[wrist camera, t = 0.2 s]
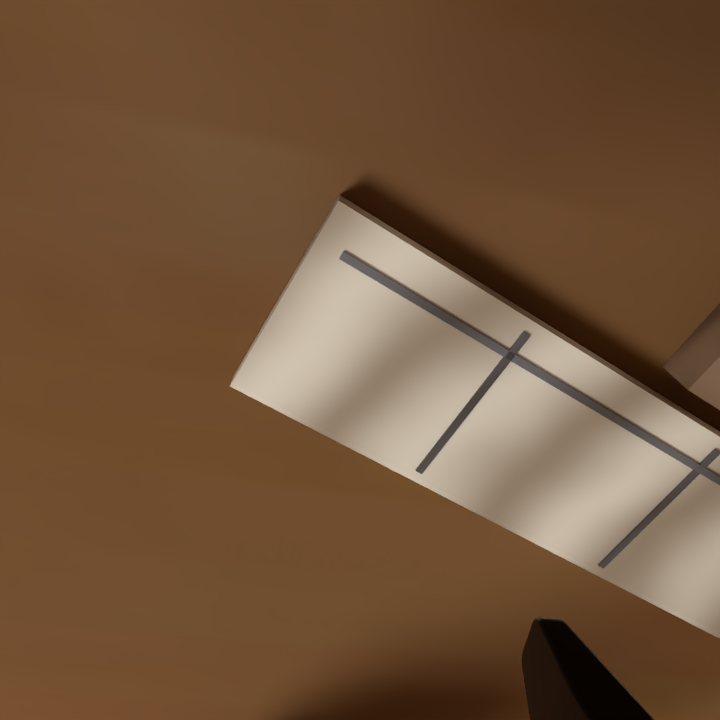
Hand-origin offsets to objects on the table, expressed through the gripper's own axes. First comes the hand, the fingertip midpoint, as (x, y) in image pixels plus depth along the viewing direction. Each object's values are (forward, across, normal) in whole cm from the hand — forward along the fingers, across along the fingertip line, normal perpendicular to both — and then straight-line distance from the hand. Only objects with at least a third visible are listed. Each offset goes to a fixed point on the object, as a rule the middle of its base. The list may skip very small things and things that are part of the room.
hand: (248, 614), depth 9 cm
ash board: (+14, -11, +5) cm, 19 cm away
